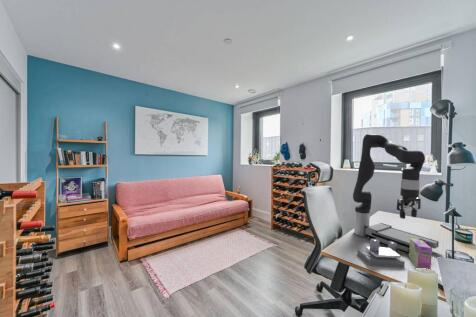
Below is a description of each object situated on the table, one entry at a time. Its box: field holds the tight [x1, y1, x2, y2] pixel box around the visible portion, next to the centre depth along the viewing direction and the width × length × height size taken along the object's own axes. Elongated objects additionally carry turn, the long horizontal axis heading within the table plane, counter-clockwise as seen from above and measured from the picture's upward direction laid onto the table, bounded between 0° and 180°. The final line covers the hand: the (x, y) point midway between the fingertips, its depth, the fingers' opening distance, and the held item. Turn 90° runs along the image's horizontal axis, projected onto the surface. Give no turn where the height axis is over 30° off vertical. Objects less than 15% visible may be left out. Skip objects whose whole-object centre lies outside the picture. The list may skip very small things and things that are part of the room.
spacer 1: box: [369, 239, 380, 253], centre depth 112 cm, size 4×4×6 cm
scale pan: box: [365, 246, 401, 259], centre depth 112 cm, size 9×13×1 cm
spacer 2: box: [387, 241, 398, 254], centre depth 121 cm, size 4×4×6 cm
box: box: [408, 238, 433, 270], centre depth 109 cm, size 10×6×12 cm, turn 158°
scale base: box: [357, 248, 406, 268], centre depth 112 cm, size 12×18×4 cm, turn 87°
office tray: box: [365, 222, 440, 255], centre depth 131 cm, size 21×32×8 cm, turn 28°
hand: (408, 217), depth 107 cm, fingers open, 8 cm apart
